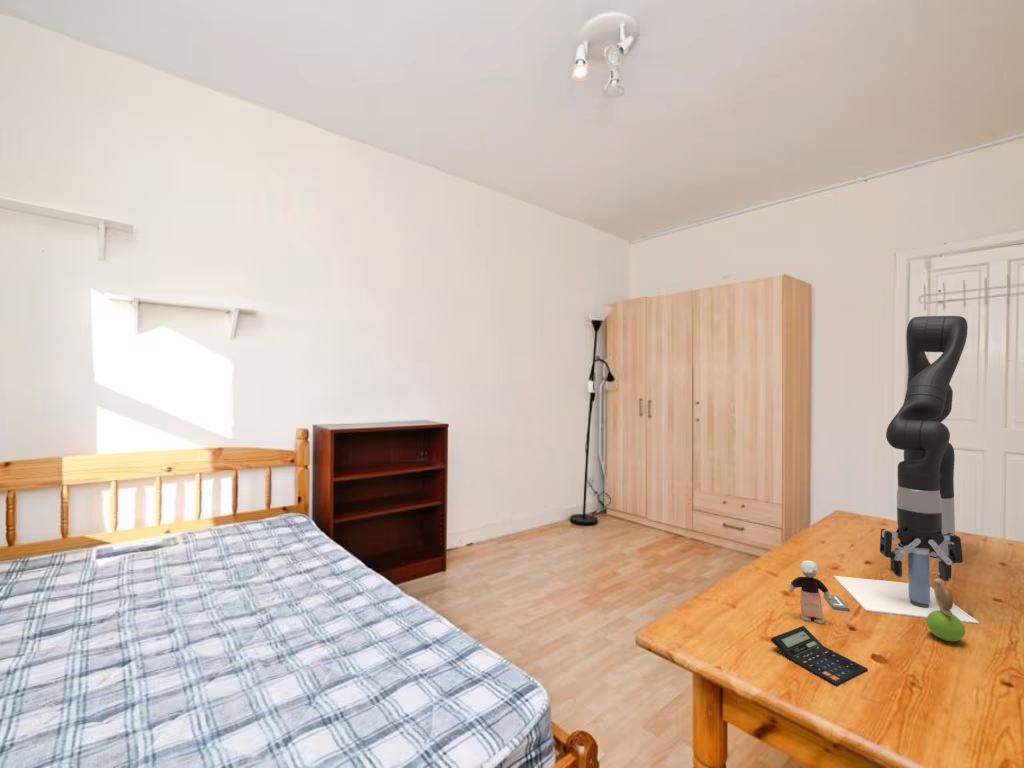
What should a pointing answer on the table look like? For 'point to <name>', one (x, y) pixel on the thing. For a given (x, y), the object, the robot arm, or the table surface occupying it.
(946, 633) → the snail figurine
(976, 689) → the table surface
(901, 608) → the paper
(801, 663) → the calculator
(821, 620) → the grandmother figurine
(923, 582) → the grey-blue cylinder
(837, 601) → the letter card
